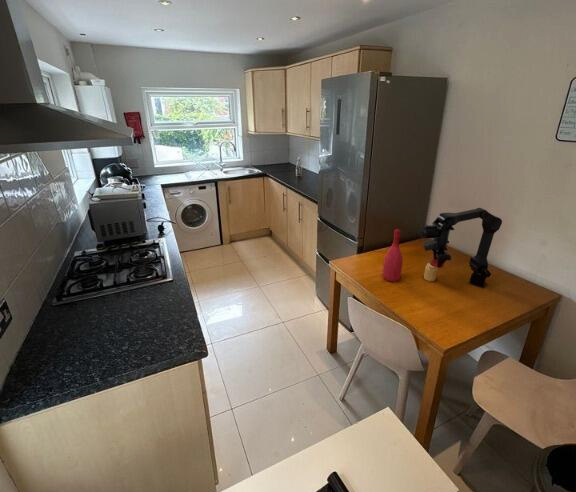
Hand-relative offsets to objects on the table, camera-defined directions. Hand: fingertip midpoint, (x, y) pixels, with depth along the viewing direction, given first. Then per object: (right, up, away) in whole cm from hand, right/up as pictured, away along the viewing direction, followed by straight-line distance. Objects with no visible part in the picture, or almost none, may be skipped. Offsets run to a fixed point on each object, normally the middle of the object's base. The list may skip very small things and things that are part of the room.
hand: (436, 264), depth 161 cm
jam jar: (+1, -10, +11) cm, 15 cm away
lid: (0, +1, 0) cm, 1 cm away
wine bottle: (-21, -10, +11) cm, 26 cm away
